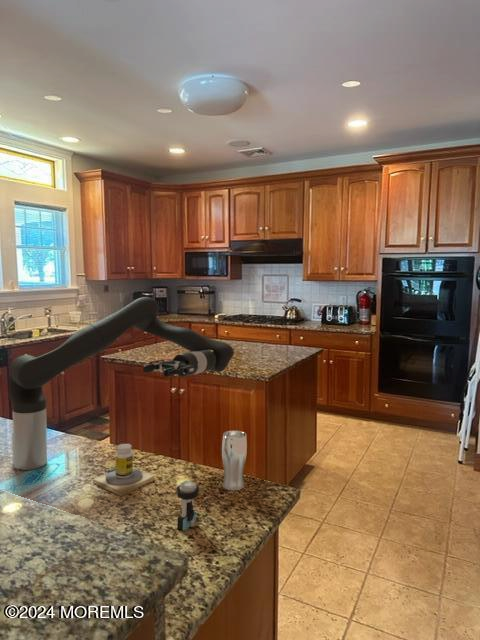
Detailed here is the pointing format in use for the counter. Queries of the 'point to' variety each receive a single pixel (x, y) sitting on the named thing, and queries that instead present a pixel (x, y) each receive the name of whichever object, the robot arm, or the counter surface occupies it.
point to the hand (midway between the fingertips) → (153, 371)
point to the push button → (187, 504)
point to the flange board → (123, 481)
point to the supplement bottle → (124, 461)
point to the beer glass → (234, 459)
